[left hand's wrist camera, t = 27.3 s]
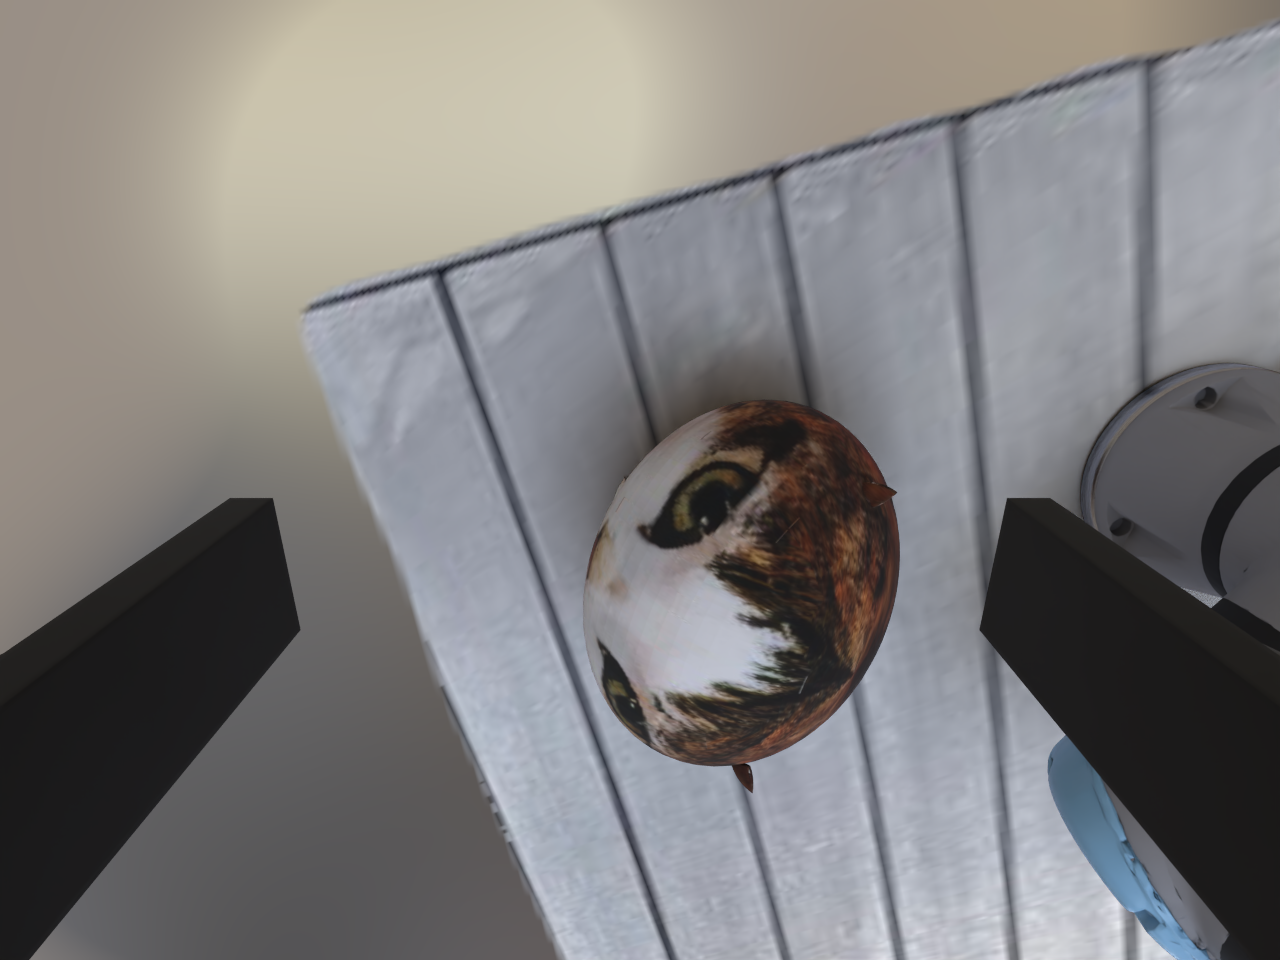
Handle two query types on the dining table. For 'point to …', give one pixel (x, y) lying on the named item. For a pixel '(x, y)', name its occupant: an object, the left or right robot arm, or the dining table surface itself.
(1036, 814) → the dining table surface
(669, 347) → the dining table surface
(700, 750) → the cat face balloon
